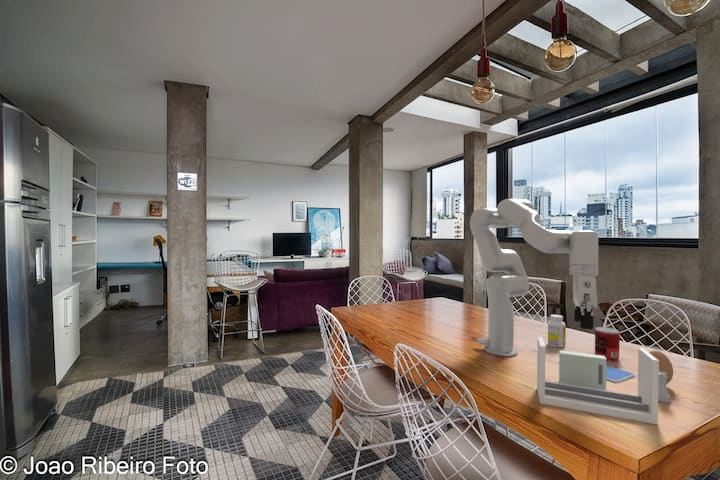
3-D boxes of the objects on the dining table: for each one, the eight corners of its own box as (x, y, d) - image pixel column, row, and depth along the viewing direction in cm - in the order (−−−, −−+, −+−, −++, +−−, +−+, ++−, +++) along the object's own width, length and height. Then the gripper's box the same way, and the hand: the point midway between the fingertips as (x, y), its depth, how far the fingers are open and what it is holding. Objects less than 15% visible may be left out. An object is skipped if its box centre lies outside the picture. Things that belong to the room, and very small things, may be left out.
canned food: (620, 357, 131) (620, 329, 131) (617, 363, 125) (618, 333, 125) (596, 352, 136) (596, 325, 136) (593, 357, 131) (593, 329, 130)
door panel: (560, 384, 106) (560, 353, 106) (558, 380, 109) (559, 350, 109) (606, 392, 102) (606, 359, 102) (603, 387, 104) (604, 355, 104)
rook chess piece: (645, 396, 99) (646, 369, 99) (659, 395, 99) (660, 368, 99) (660, 403, 94) (661, 375, 94) (675, 403, 95) (675, 375, 95)
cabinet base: (539, 403, 94) (540, 346, 94) (537, 388, 103) (537, 336, 103) (657, 424, 84) (658, 360, 84) (643, 406, 93) (643, 348, 93)
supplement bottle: (560, 343, 149) (561, 314, 148) (568, 348, 142) (568, 317, 142) (544, 342, 149) (545, 313, 149) (551, 347, 143) (552, 317, 143)
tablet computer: (557, 364, 125) (557, 361, 125) (577, 359, 131) (577, 355, 131) (616, 385, 108) (616, 381, 108) (636, 377, 113) (636, 373, 113)
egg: (642, 377, 112) (642, 345, 112) (673, 385, 107) (673, 350, 107) (640, 385, 107) (640, 350, 106) (672, 392, 101) (673, 356, 101)
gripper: (605, 273, 96) (605, 333, 96) (591, 268, 112) (591, 320, 111) (574, 272, 99) (574, 330, 99) (565, 267, 115) (565, 318, 114)
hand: (583, 324), depth 105 cm, fingers open, 9 cm apart
